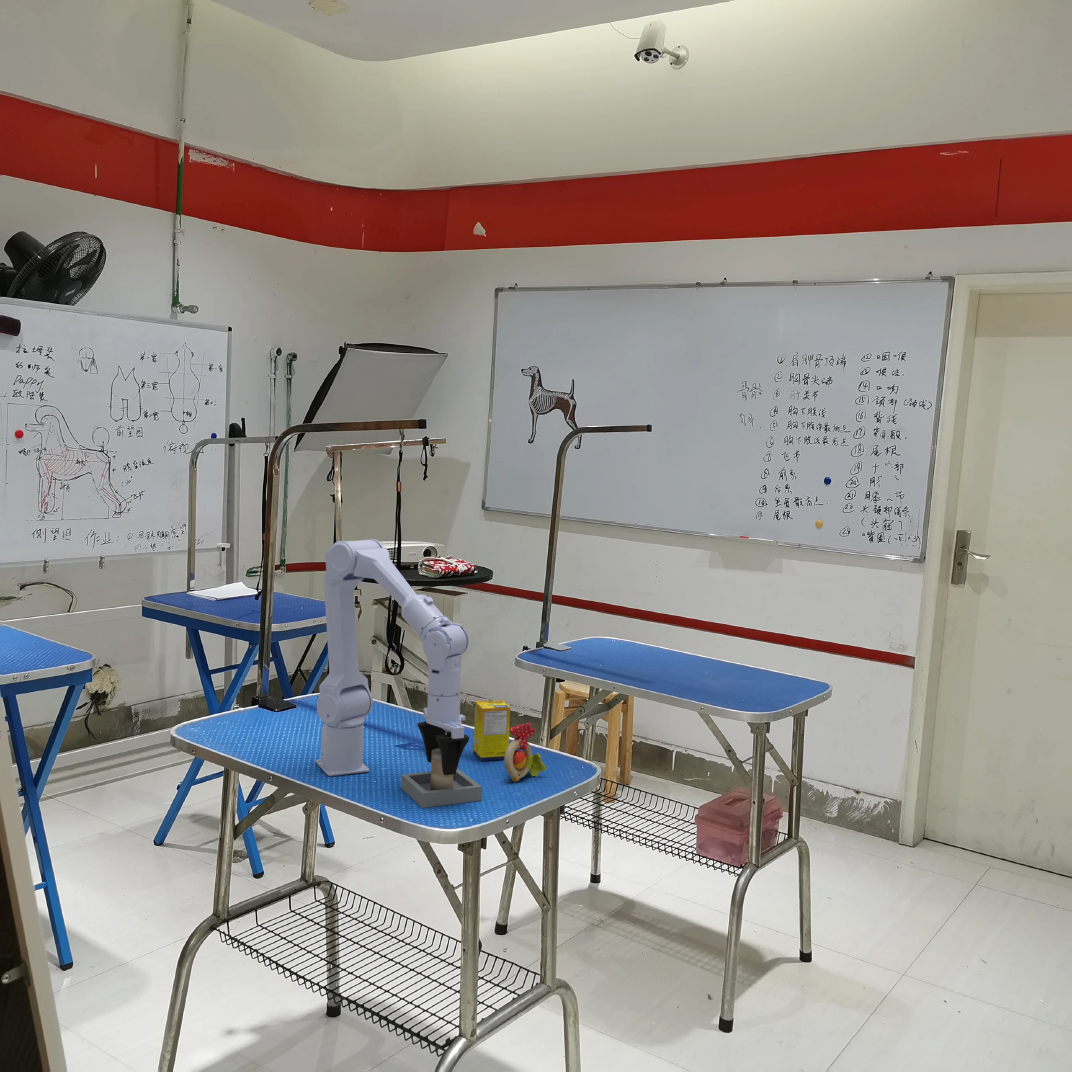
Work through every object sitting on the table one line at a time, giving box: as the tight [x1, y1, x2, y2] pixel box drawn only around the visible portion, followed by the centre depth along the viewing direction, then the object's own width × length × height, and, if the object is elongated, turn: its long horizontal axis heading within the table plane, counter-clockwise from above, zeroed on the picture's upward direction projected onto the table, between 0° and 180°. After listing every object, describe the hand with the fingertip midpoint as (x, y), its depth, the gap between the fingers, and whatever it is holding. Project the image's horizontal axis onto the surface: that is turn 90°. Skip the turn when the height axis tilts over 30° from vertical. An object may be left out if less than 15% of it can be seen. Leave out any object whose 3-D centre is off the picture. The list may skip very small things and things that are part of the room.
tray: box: [400, 768, 483, 809], centre depth 179 cm, size 11×11×2 cm
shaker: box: [430, 748, 453, 791], centre depth 179 cm, size 4×4×7 cm
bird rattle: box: [503, 721, 548, 783], centre depth 190 cm, size 6×11×9 cm
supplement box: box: [473, 699, 511, 762], centre depth 203 cm, size 6×6×11 cm
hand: (441, 767), depth 179 cm, fingers open, 7 cm apart
